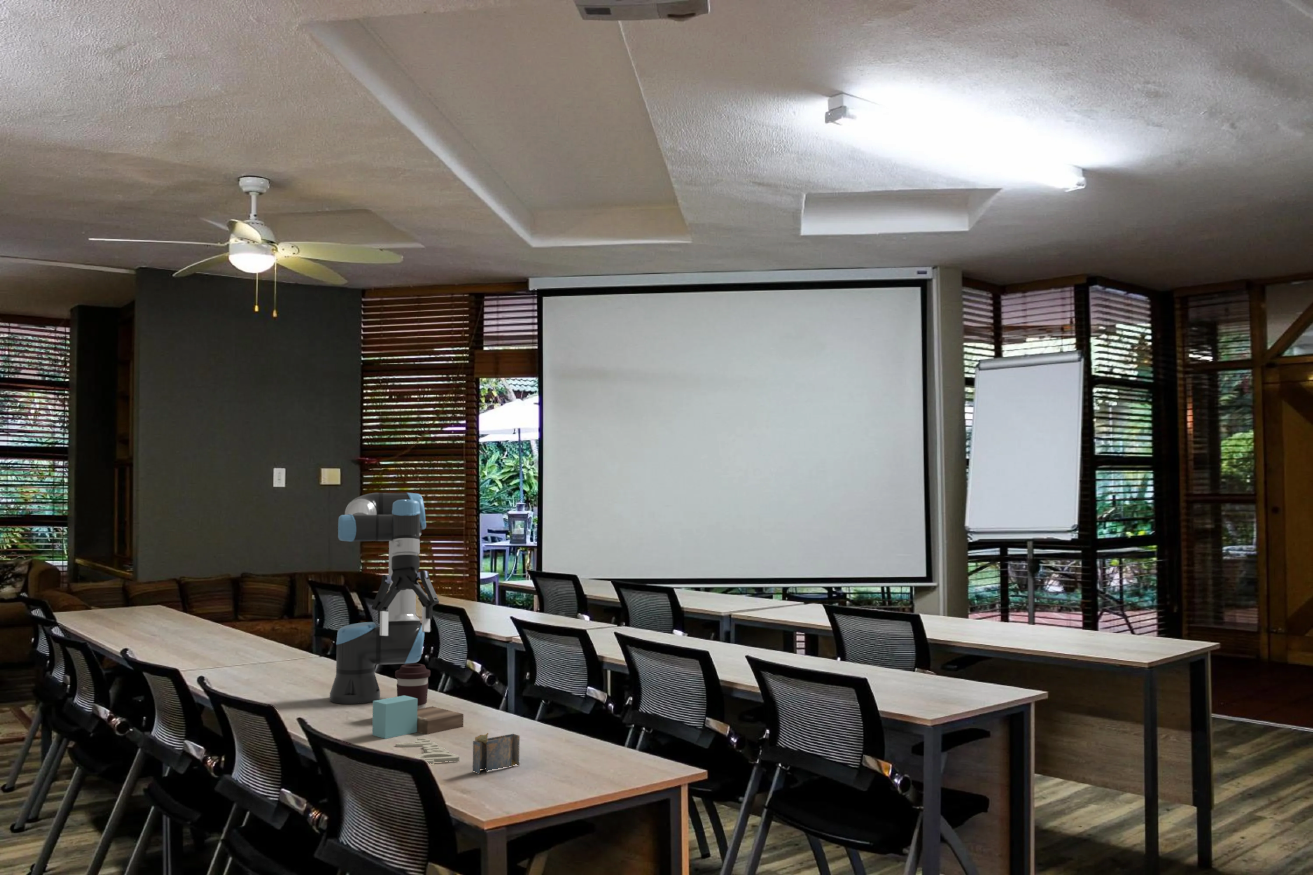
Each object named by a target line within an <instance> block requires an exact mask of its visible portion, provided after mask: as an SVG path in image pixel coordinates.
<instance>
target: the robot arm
mask: <svg viewBox="0 0 1313 875" xmlns="http://www.w3.org/2000/svg"><path fill="white" fill-rule="evenodd" d="M337 523H338V524H337V526H338V527H337V529H338V530H337V532H338V534H337V538H338V540H339V541H342V542H372V541H373V542H374V541H375V542H388V548H389V549H388V575H387V574H383V575H382V576H381V584H380V586H379V587H378V591H377V593H376V595H375V598H374V600H373V603H372V605H371V609H372V610H373V611H374V610H375V611H377V623H378V624H379V626H377V624H376V623H375V622H374V621H367V622H358V623H351V624H347V625H344V626H342V627H340V628H339V629H338V630H337V635H336V643H335V645H336V663H335V666H336V667H335V668H336V669H335V677H334V680H333V683H332V686H331V689H330V692H329V702H331V703H335V704H342V705H346V704H347V705H349V704H350V705H354V704H355V705H357V704H367V703H373V701H375V700H381V689H380V686H379V683H378V680H377V676H376V672H375V671H376V670H375V669H376V668H375V667H376V665H405V664H417V663H418V662H419V661H420V660H421V659H422V654H423V647H424V642H425V641H424V640H425V633H430V632H431V620H432V619H433V607H434V606H435V605H439V603H440V600H439V598H438V595H437V593H436V591H435V588H434V586H433V584H432V582H431V579H430V572H429V571H428V570H423V569H422V570H420V565H421V564H420V563H421V562H420V557H419V555H420V553H421V551H420V550H421V547H420V542H421V540H420V537H421V535H422V530H425V529H426V528H427V521H426V510H425V502H424V497H422V495H421V493H416V492H415V493H413V492H372V493H371V492H370V493H367V494H363V495H360V496H358V497H355V498H354V499H352V500H351V501H349V502H348V504H347V506H346V507H345V510H344V514H341V515H340V516H338V522H337ZM419 570H420V571H419ZM419 579H420V581H421V584H422V585H421V584H420V583H419V582H418V581H419ZM423 588H424V589H423ZM417 597H418V598H419V600H420V601H421V602H422V604H423V606H422V607H421V619H420V618H419V617H418V616H417V613H416V612H417V611H416V610H417V609H416V606H417V605H416V604H417V603H416V600H417Z"/></svg>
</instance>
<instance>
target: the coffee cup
mask: <svg viewBox="0 0 1313 875" xmlns="http://www.w3.org/2000/svg"><path fill="white" fill-rule="evenodd" d="M394 677H395V678H396V680H397V682H396V697H398V696H404V695H405V696H409V697H413V698H417V699H418V702H417V709H421V708H427V706H426V705H427V702H428V691H429V677H431V670H430V669H428V668H426V665H425V664H424V663H423V664H422V663H406V664H401V665H400V667H399V669H397V670H395V671H394Z"/></svg>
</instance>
